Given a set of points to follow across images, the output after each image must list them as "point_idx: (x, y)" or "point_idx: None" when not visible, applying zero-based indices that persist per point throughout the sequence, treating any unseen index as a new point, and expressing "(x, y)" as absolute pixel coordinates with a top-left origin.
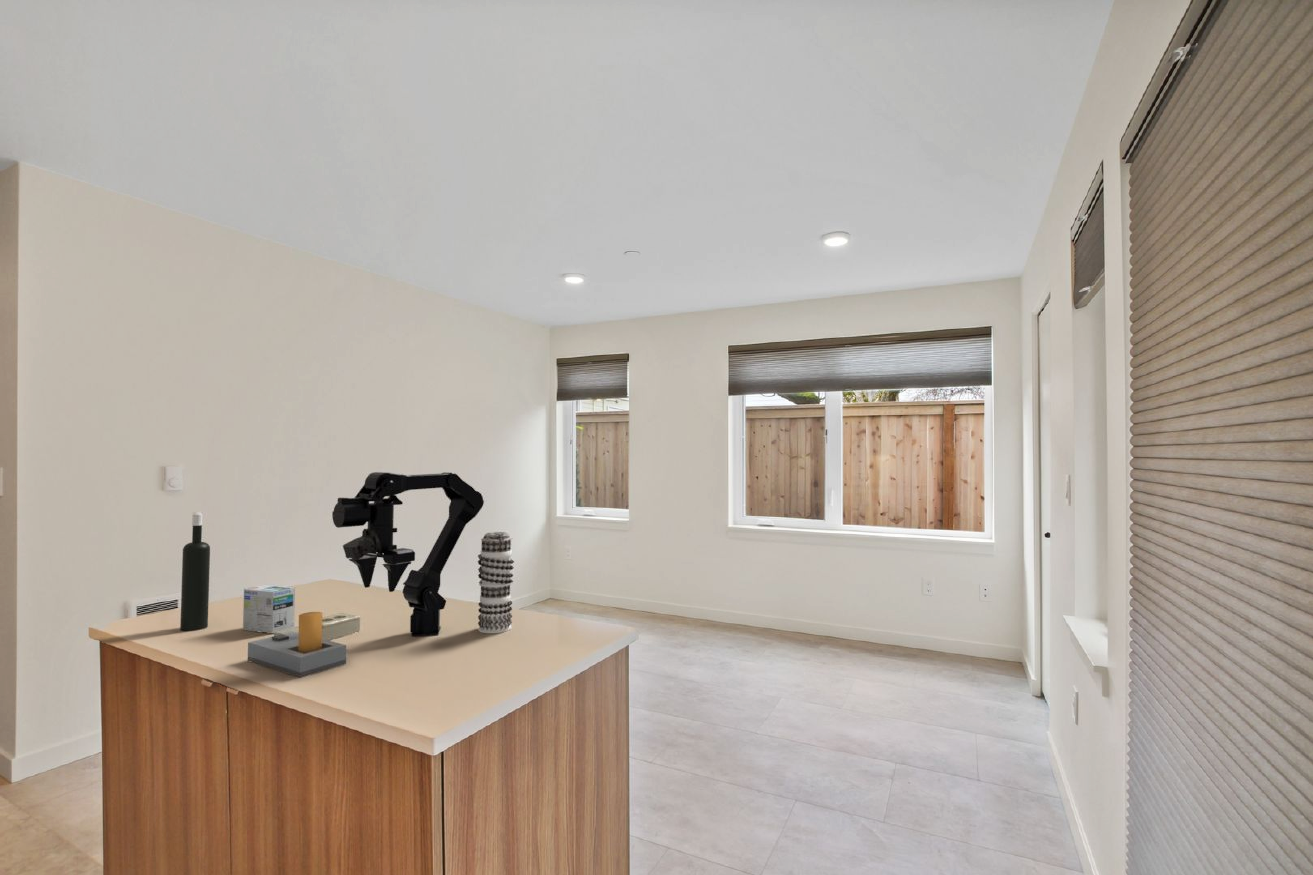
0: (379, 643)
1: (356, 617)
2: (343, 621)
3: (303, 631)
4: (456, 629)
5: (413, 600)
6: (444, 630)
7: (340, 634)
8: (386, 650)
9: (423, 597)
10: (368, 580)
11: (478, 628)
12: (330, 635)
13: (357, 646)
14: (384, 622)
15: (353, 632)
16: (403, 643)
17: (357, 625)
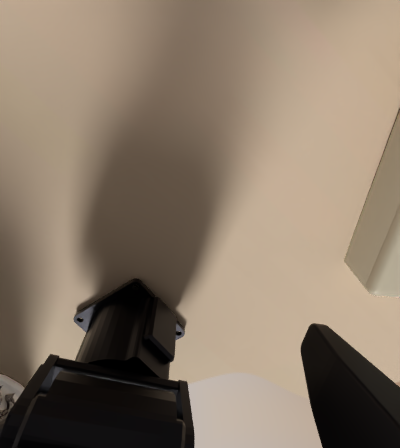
0: (178, 185)
1: (377, 281)
2: (397, 225)
3: None
4: None
5: (97, 382)
6: None
7: (374, 194)
8: (82, 126)
9: (20, 402)
10: (325, 393)
11: (17, 386)
12: (394, 154)
13: (225, 125)
14: None
15: (353, 241)
16: (100, 214)
17: (358, 266)
